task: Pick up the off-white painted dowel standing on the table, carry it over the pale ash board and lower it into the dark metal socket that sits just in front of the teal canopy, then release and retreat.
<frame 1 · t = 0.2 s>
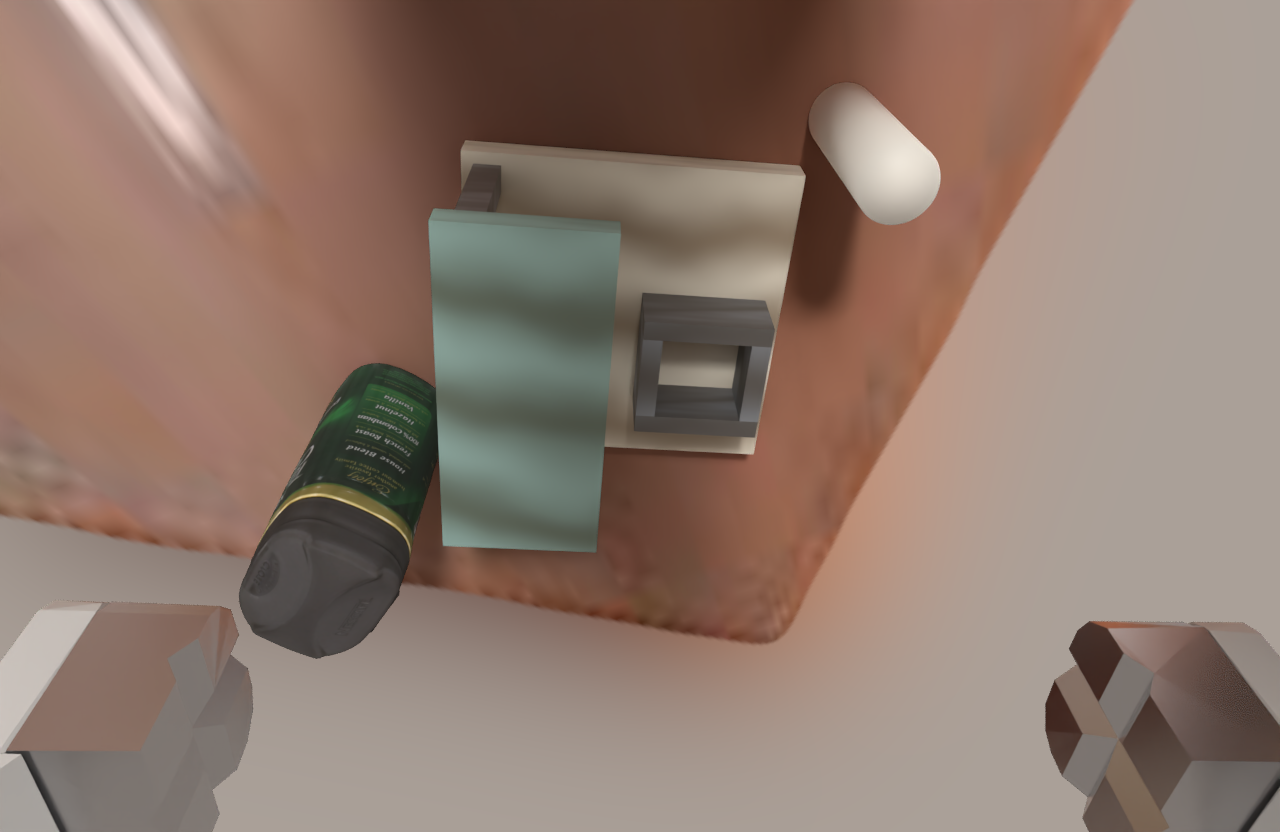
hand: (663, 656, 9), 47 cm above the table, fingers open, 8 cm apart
coffee jar: (385, 417, 63), on the table
peg: (842, 117, 53), on the table
canopy socket: (622, 304, 59), on the table
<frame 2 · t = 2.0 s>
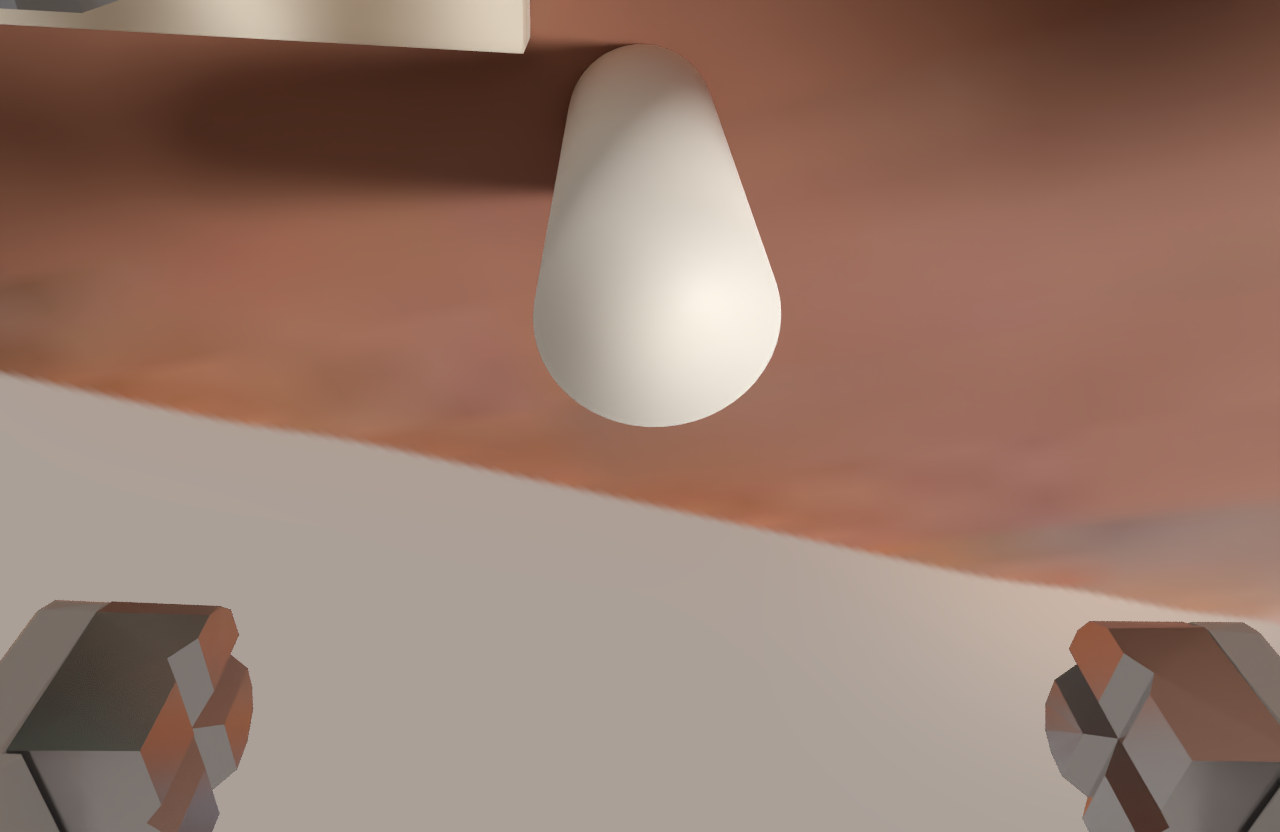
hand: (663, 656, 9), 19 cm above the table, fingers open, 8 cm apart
peg: (641, 121, 25), on the table
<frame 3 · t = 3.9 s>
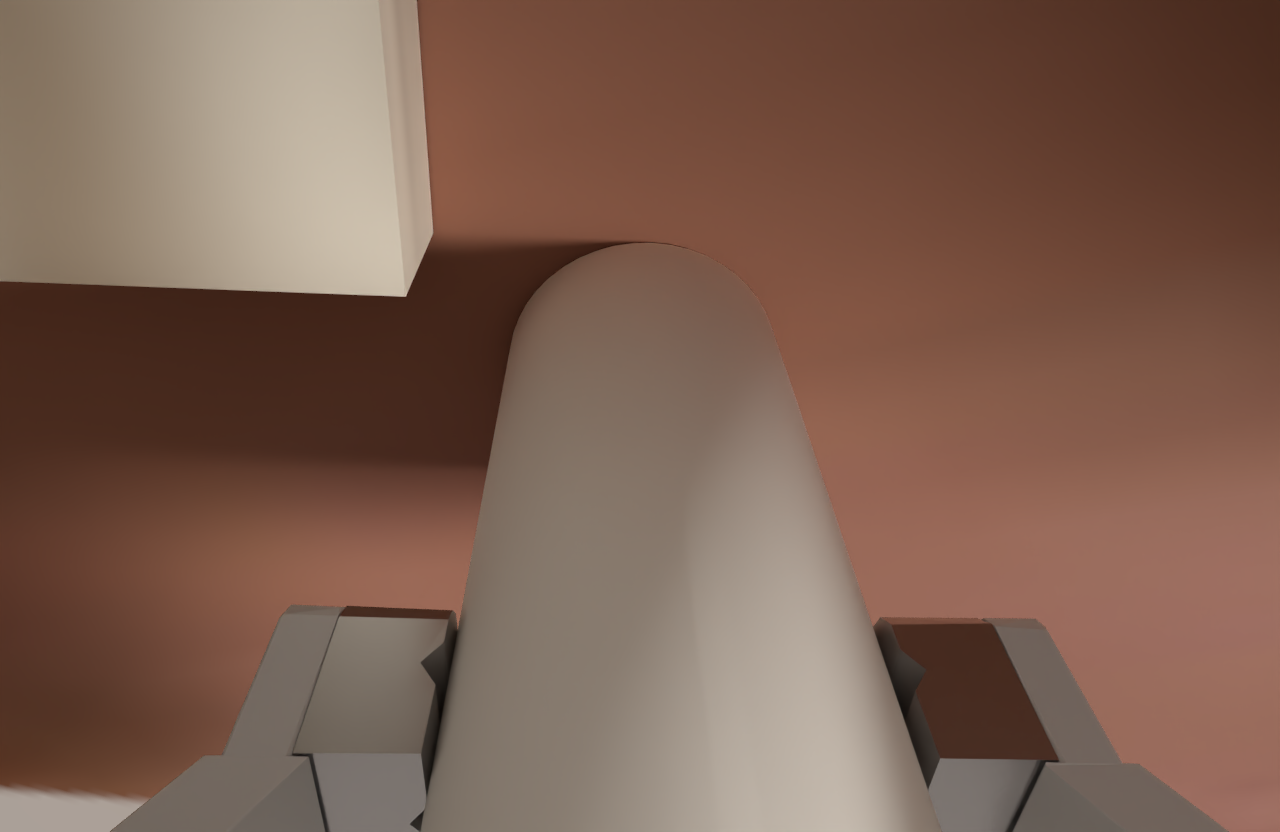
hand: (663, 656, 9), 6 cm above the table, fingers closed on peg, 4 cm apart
peg: (643, 368, 13), on the table, touching gripper
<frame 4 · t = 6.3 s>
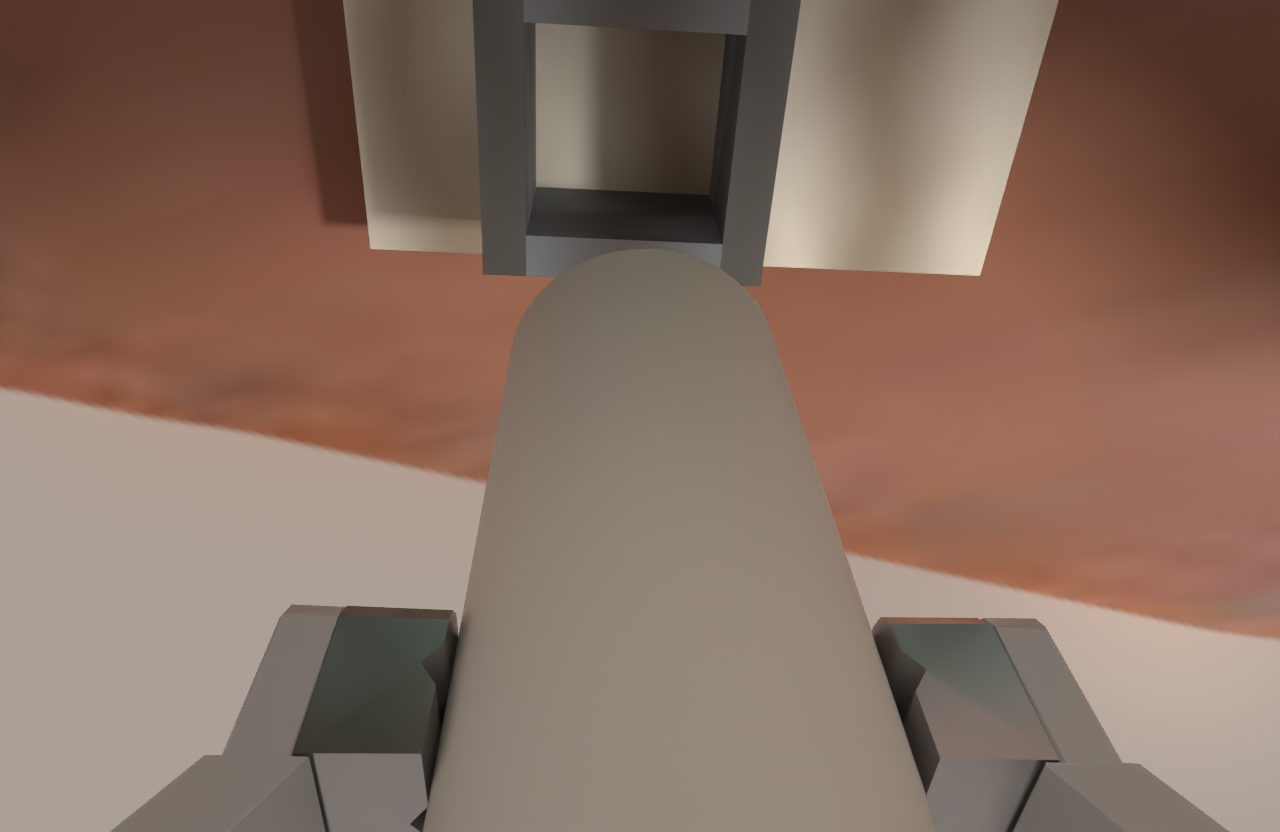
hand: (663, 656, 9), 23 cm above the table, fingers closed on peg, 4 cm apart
peg: (643, 373, 14), point 18 cm above the table, touching gripper
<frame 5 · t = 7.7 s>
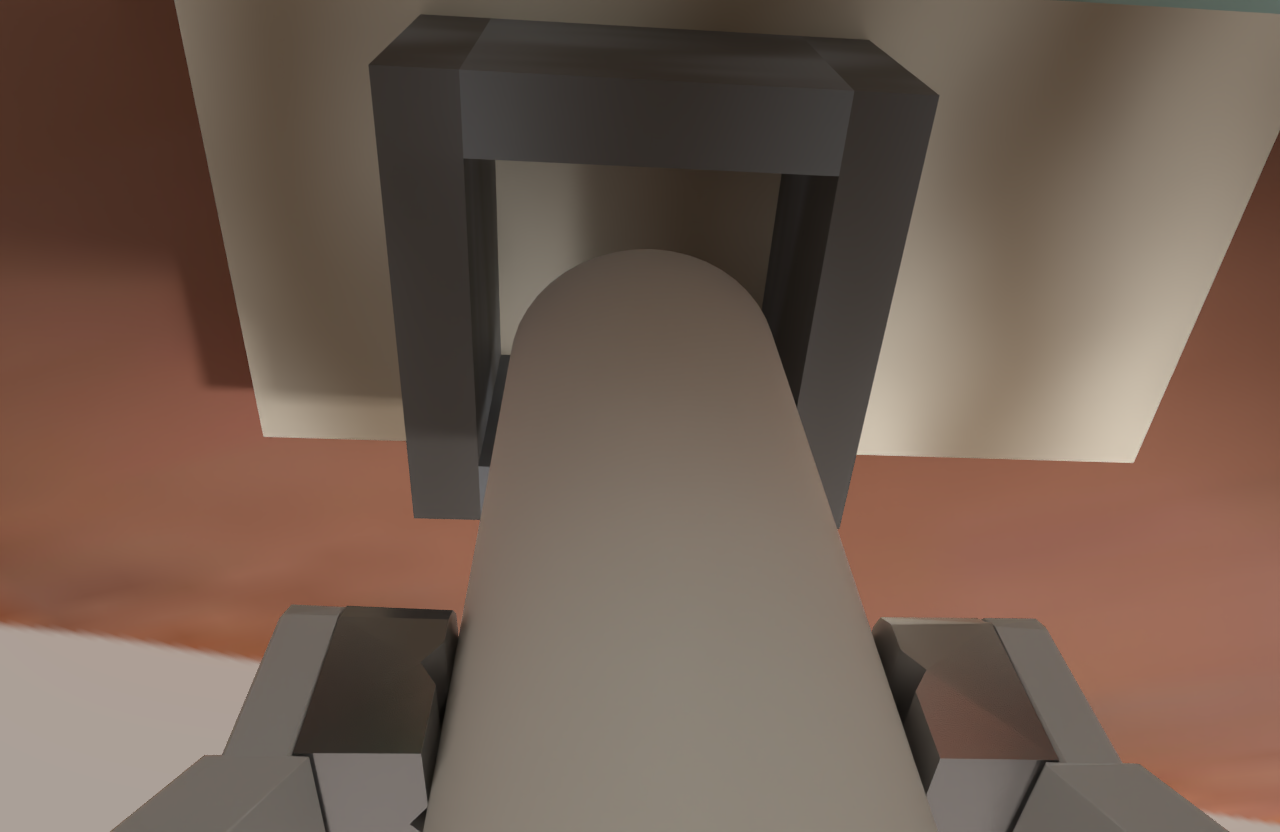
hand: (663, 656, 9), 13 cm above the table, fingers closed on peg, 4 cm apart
peg: (643, 373, 14), point 7 cm above the table, touching gripper
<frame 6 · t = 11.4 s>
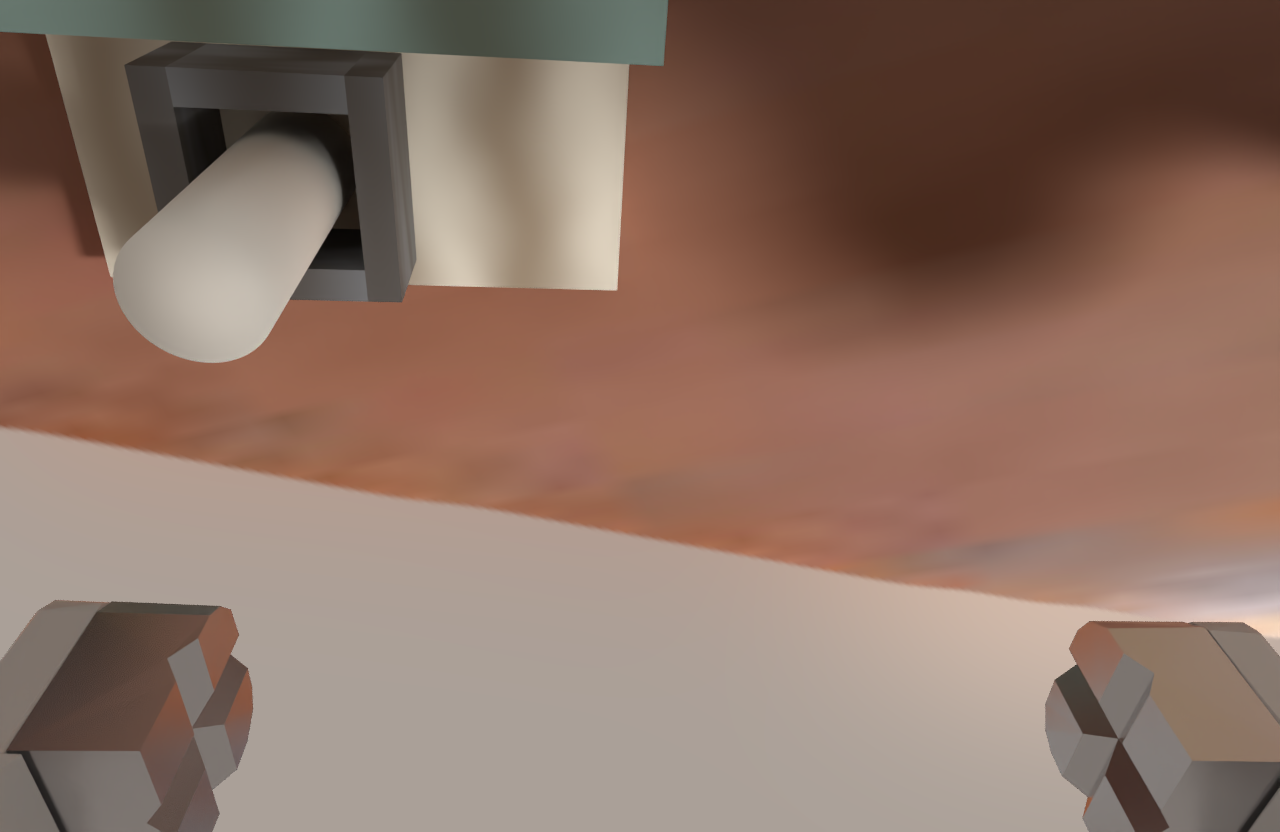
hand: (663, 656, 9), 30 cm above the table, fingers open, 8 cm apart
peg: (304, 160, 34), point 2 cm above the table, touching canopy socket
canopy socket: (354, 8, 33), on the table
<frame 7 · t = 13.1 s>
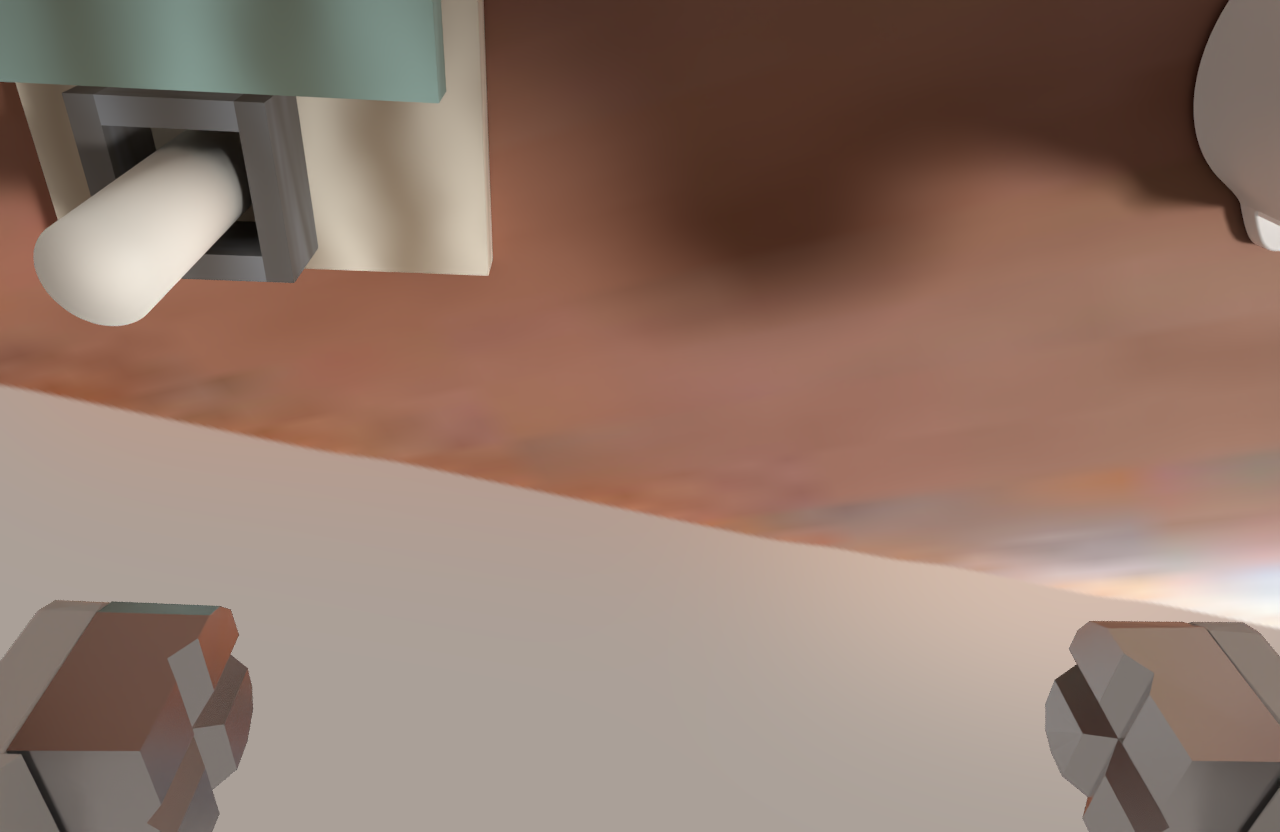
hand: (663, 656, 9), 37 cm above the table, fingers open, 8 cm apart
peg: (221, 165, 41), point 2 cm above the table, touching canopy socket
canopy socket: (259, 41, 40), on the table
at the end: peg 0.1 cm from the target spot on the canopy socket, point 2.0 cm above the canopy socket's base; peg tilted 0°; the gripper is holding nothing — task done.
